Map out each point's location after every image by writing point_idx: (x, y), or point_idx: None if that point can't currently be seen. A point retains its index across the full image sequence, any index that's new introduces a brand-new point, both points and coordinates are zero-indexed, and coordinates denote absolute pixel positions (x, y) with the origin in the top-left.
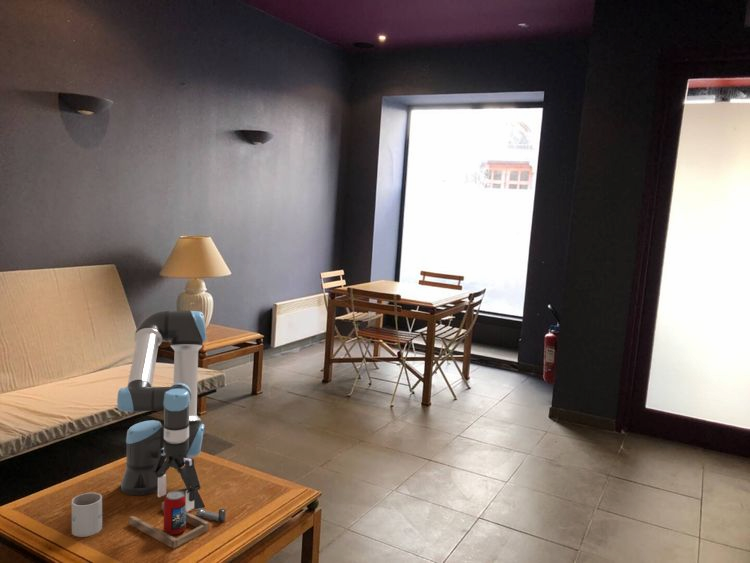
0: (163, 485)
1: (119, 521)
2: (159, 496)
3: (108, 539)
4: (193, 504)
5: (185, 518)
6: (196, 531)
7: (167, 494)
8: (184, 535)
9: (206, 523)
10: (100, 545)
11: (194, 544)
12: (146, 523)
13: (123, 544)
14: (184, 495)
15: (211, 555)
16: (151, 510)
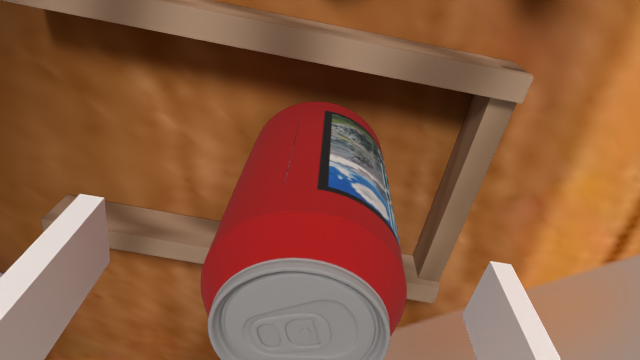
0: (47, 303)
1: (3, 210)
2: (106, 261)
3: (120, 319)
4: (523, 300)
5: (386, 178)
6: (484, 170)
7: (225, 356)
8: (446, 236)
9: (522, 96)
10: (136, 352)
11: (504, 213)
12: (179, 247)
13: (203, 322)
14: (376, 287)
15: (637, 248)
16: (4, 39)
